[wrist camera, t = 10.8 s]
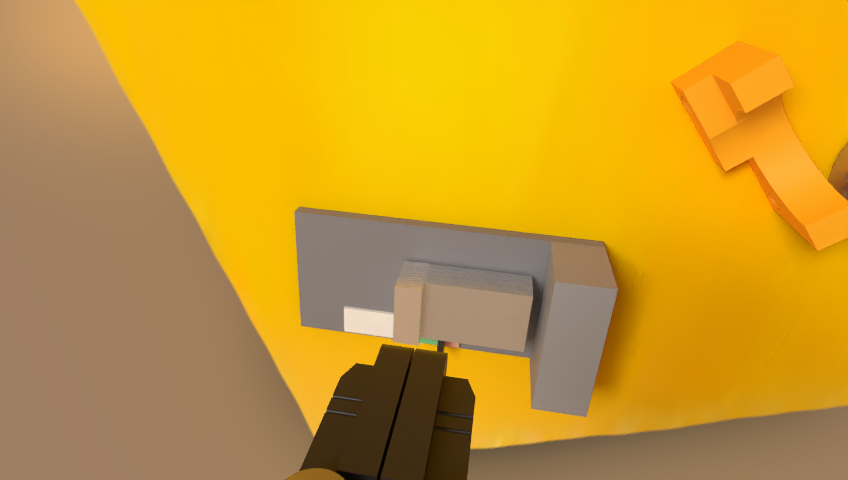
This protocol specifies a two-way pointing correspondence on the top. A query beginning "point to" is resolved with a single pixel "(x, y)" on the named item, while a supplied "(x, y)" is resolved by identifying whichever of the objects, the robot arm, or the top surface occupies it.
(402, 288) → the block
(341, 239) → the base
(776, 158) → the pipe clamp
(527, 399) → the top surface
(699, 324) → the top surface
